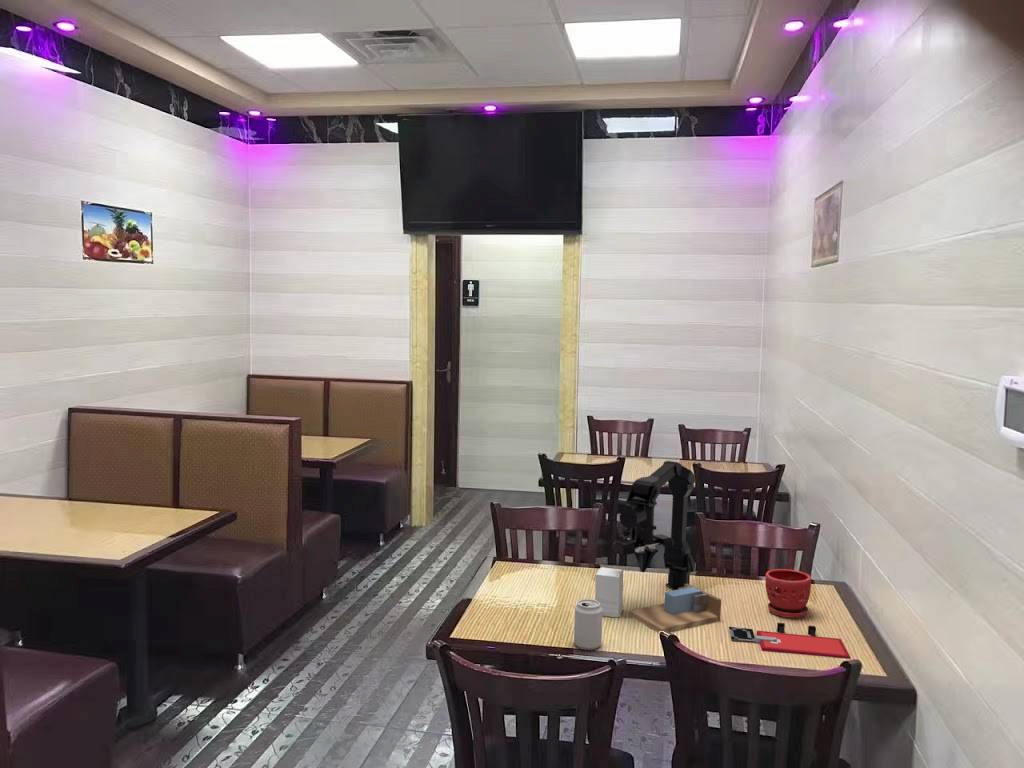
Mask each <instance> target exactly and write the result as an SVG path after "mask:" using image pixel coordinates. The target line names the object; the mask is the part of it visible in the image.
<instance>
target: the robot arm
mask: <svg viewBox="0 0 1024 768" xmlns="http://www.w3.org/2000/svg"><path fill="white" fill-rule="evenodd" d="M695 483H696V475H695V473H693V471H692V470H691V469H689V468H687V467H686V466H684V465H683V464H682V463H680V462H678V461H673V460H666V461H664V462H663V464H662V465H661V466H660V467H658V468H657V469H656V470H655V471H653V472H652V473H651V474H650V475H648V476H642V477H639V478H637V479H635V480H634V481H633V483H632V485H631V488H630V490H629V492H628V496H627V498H626V505H625V509H623V510H621V512H620V514H619V522H620V525H621V526H618V528H617V533H618V535H617V536H618V537H620V538H623V539H621V540H615V541H614V542H613V544H612V545H613V548H612V550H613V551H615V552H617V553H619V554H622V555H625V556H627V555H632V554H633V555H634V556H635V558H636V562H637V564H638V568H639V570H640V572H641V573H645V572H646V570H647V569H648V567H649V564H650V563H651V561H652V559H653V558H654V556H656V554H657V553H659V550H658V549H656V546H660V545H662V546H663V548H664V552H663V563H664V567H665V568H664V569H668V574H667V583H665V586H667V587H668V588H670V589H673V590H678V588H680V587H684V584H689V585H690V580H691V579H690V574H691V573H694V572H695V568H696V567H695V566H696V561H694V559H693V556H692V554H691V546H690V545H689V543H688V541H687V523H688V521H687V520H688V504H689V503H688V501H689V498H688V497H689V496H690V494H691V492H692V491H693V490H694V486H695ZM666 484H667V485H668V486H667V487H668V488H667V489H669V491H670V494H671V495H672V507H671V508H672V511H671V528H670V530H671V531H670V536H668V535H665V534H662V533H661V534H654V531H655V530H657V526H656V525H654V523H655V521H654V520H655V506H657V499H658V497H659V495H660V494H661V492H660V490H661V488H662V487H664V485H666ZM627 539H629V540H630V541H629V540H627ZM631 541H632V542H631Z"/></svg>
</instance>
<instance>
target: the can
mask: <svg viewBox="0 0 1024 768" xmlns="http://www.w3.org/2000/svg"><path fill="white" fill-rule="evenodd" d="M573 626H574V627H573V628H574V629H573V630H574V631H573V643H574V645H576V646H577V648H579V649H582V650H588V651H592V649H593V650H596V649H598V648H599V647H600V646H601V645H602V638H603V636H602V634H603V616H602V607H601V606H600V603H599V602H598V601H596V600H595V599H591V598H583V599H580V600H577V602H576V605H575V606H574V625H573Z"/></svg>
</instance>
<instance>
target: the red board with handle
mask: <svg viewBox="0 0 1024 768" xmlns="http://www.w3.org/2000/svg"><path fill="white" fill-rule="evenodd" d="M776 624H777V625H776V632H775V631H768V630H767V631H765V630H756V635H755V634H754V633H755V632H754V630H753V628H746V627H737V626H728V629H729V634H730V639H731V640H734V641H735V640H737V641H748V642H755V644H759V647H760V650H761V651H762V652H769V653H770V652H771V653H779V654H780V653H782V654H783V653H784V654H793V655H795V654H796V655H804V656H806V655H807V656H816V657H826V658H836V659H837V658H839V659H849V660H850V659H851V656H850V654H849V650H847V648H846V646H845V644H844V642H843V641H842V640H843V639H841V638H836V637H828V636H827V637H825V636H817V634H816V631H817V627H816V626H815V625H808V627H807V634H808V635H804V634H796V633H785V628H786V625H785V624H786V623H785V622H777V623H776Z"/></svg>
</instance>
